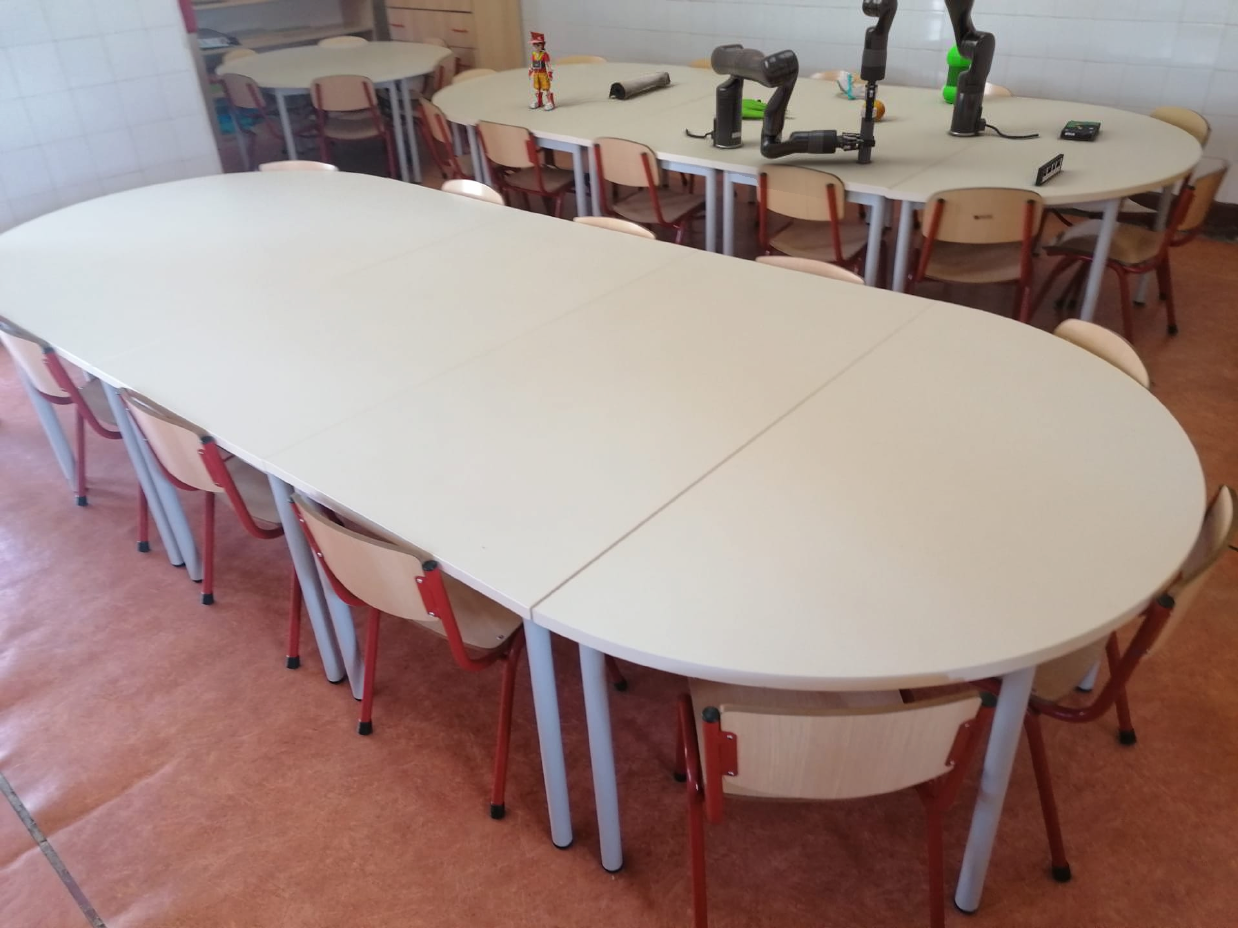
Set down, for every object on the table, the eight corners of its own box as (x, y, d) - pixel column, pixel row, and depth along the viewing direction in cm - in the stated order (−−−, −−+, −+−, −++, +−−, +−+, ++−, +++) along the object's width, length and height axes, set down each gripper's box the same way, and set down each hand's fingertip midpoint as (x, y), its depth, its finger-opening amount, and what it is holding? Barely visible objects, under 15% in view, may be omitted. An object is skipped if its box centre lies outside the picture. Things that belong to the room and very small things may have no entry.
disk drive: (1092, 142, 302) (1099, 130, 312) (1094, 133, 301) (1101, 122, 311) (1059, 139, 307) (1067, 127, 317) (1061, 130, 305) (1069, 119, 316)
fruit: (856, 112, 335) (869, 93, 332) (858, 116, 343) (871, 96, 340) (874, 125, 334) (888, 105, 331) (876, 128, 342) (889, 109, 339)
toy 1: (525, 109, 381) (517, 32, 364) (534, 104, 388) (527, 28, 371) (550, 110, 377) (543, 32, 360) (559, 105, 384) (553, 28, 367)
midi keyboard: (1039, 185, 269) (1043, 168, 266) (1035, 184, 270) (1038, 168, 267) (1060, 170, 279) (1064, 154, 277) (1056, 169, 280) (1060, 153, 277)
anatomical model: (832, 71, 373) (856, 64, 372) (834, 96, 379) (858, 90, 378) (842, 79, 360) (867, 72, 360) (845, 105, 366) (869, 98, 366)
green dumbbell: (973, 101, 354) (984, 32, 339) (955, 106, 349) (966, 36, 335) (952, 97, 361) (962, 29, 346) (934, 102, 356) (944, 33, 342)
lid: (879, 116, 289) (880, 109, 287) (867, 119, 287) (868, 111, 285) (869, 113, 292) (869, 106, 291) (857, 116, 290) (858, 108, 289)
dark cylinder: (872, 162, 297) (878, 110, 288) (863, 164, 296) (868, 112, 286) (864, 159, 300) (869, 108, 291) (854, 161, 299) (859, 110, 289)
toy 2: (706, 117, 350) (777, 129, 338) (708, 103, 348) (779, 115, 335) (737, 106, 371) (804, 117, 358) (738, 93, 368) (807, 104, 355)
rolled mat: (651, 76, 408) (662, 61, 399) (662, 93, 408) (674, 79, 400) (605, 92, 391) (616, 77, 383) (617, 110, 391) (628, 95, 383)
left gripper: (823, 136, 288) (877, 135, 286) (821, 124, 300) (874, 123, 297) (821, 160, 293) (875, 159, 290) (819, 147, 304) (871, 147, 302)
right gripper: (886, 68, 274) (880, 125, 284) (886, 58, 285) (879, 114, 295) (861, 68, 276) (855, 125, 285) (861, 58, 287) (856, 114, 297)
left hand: (874, 141), depth 294 cm, fingers closed on dark cylinder, 4 cm apart
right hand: (868, 119), depth 290 cm, fingers closed on lid, 4 cm apart
